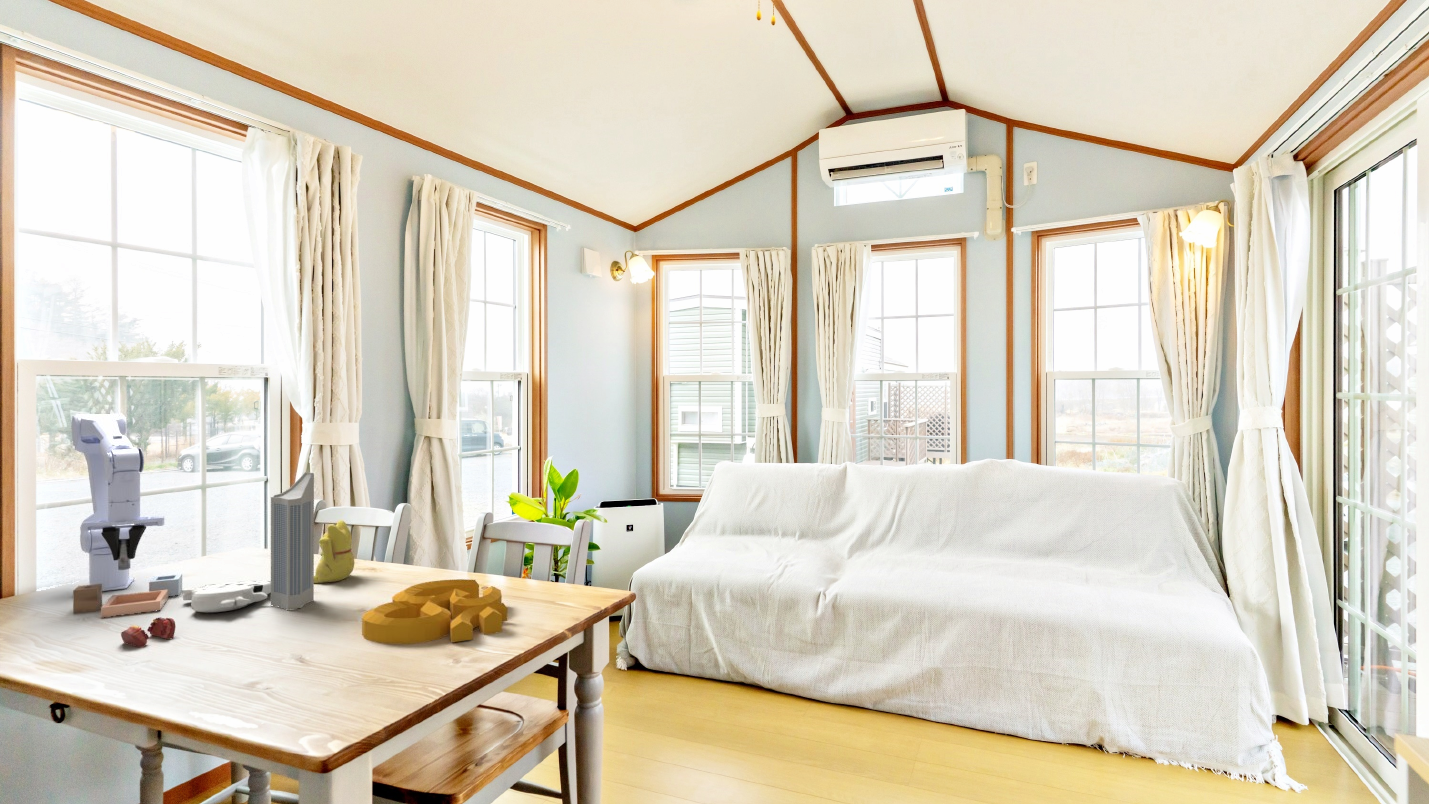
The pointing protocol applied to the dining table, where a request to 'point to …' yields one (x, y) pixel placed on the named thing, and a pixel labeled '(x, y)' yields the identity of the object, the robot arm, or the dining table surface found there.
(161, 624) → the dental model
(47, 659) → the dining table surface
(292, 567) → the building model
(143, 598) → the tray
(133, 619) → the dining table surface
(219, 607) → the toy
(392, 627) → the decorative symbol
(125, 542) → the pin
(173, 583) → the slate block
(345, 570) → the figurine
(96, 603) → the walnut block
